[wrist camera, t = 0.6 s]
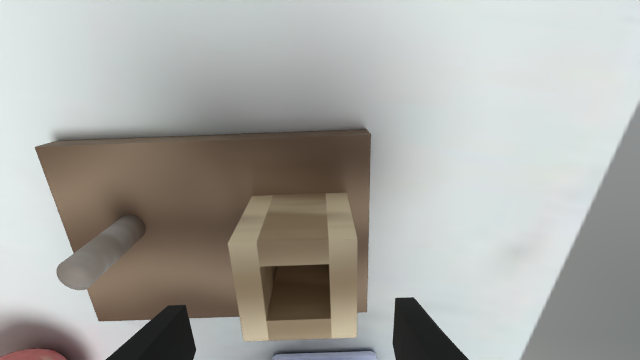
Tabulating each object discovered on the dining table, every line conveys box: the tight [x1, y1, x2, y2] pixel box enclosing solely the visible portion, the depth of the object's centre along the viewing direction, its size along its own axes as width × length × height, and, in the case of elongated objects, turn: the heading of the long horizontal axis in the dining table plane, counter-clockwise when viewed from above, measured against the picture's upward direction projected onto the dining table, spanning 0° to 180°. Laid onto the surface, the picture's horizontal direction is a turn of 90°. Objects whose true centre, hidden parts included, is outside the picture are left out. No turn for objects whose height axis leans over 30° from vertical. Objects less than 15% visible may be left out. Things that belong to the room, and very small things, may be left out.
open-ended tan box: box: [228, 193, 357, 341], centre depth 16 cm, size 5×5×5 cm
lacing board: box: [35, 129, 371, 321], centre depth 17 cm, size 12×18×6 cm, turn 92°
